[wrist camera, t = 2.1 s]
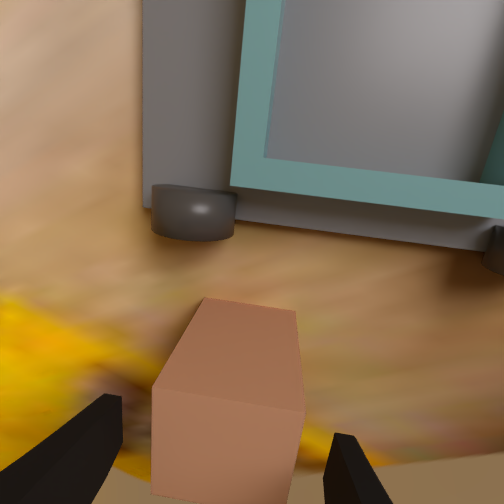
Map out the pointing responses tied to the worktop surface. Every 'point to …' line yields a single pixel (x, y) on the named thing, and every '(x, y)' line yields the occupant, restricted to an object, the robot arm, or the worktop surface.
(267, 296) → the worktop surface
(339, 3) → the chassis
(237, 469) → the block
